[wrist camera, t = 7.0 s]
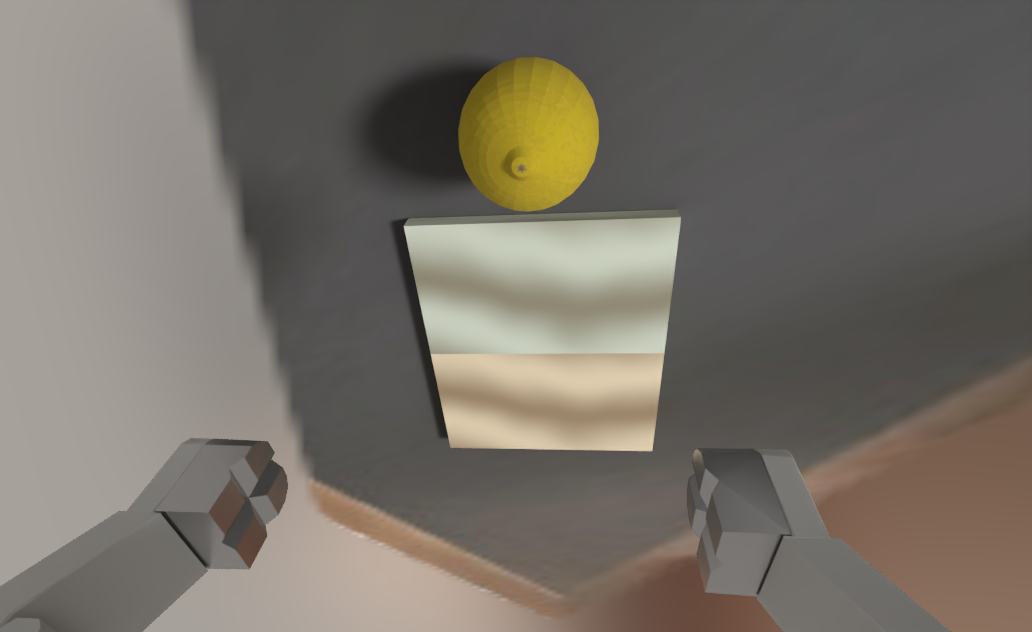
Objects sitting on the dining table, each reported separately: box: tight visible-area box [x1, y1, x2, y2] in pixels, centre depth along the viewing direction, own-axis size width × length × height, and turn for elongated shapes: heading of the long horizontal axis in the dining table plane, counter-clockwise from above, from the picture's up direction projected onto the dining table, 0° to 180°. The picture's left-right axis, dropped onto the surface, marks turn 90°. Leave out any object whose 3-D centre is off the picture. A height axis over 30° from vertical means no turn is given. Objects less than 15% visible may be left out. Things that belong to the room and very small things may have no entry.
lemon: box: [458, 57, 599, 211], centre depth 20 cm, size 6×6×8 cm
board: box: [404, 209, 681, 451], centre depth 30 cm, size 17×14×1 cm
